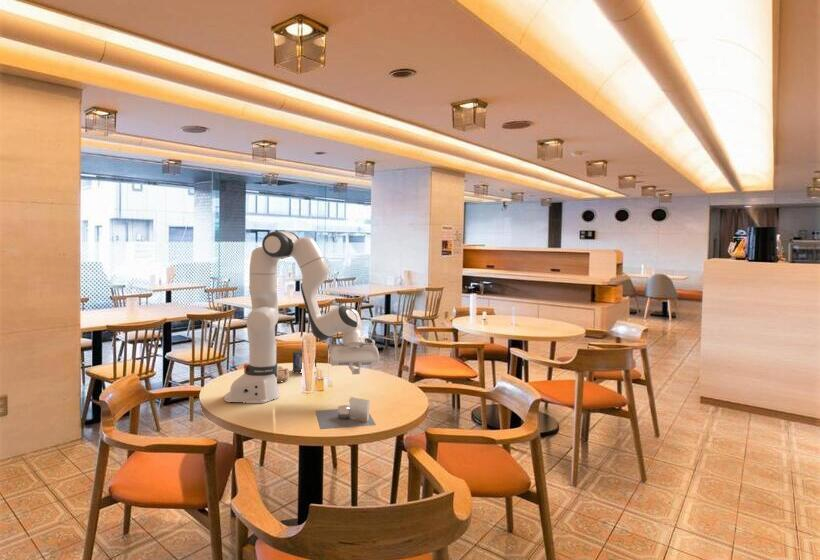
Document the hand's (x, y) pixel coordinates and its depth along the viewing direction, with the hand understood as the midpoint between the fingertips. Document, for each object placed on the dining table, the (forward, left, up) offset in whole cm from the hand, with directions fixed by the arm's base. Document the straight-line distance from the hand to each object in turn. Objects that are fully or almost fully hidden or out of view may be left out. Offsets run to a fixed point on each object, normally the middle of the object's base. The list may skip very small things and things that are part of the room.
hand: (356, 373), depth 201 cm
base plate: (-6, -11, -15) cm, 19 cm away
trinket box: (-32, +49, -15) cm, 60 cm away
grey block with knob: (-3, -14, -13) cm, 19 cm away
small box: (-16, +62, -15) cm, 66 cm away
